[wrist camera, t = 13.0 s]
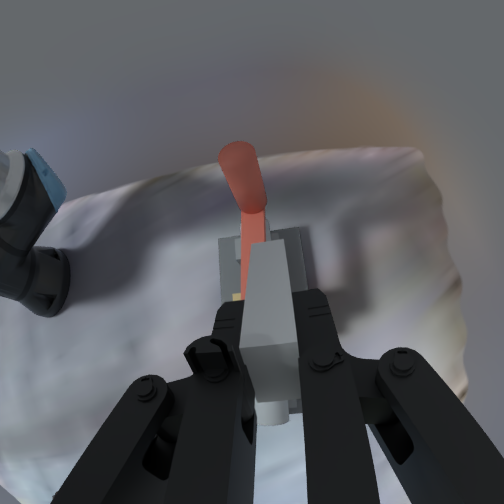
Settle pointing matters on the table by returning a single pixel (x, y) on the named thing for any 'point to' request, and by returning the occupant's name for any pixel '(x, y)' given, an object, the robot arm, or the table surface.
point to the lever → (245, 197)
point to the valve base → (235, 270)
